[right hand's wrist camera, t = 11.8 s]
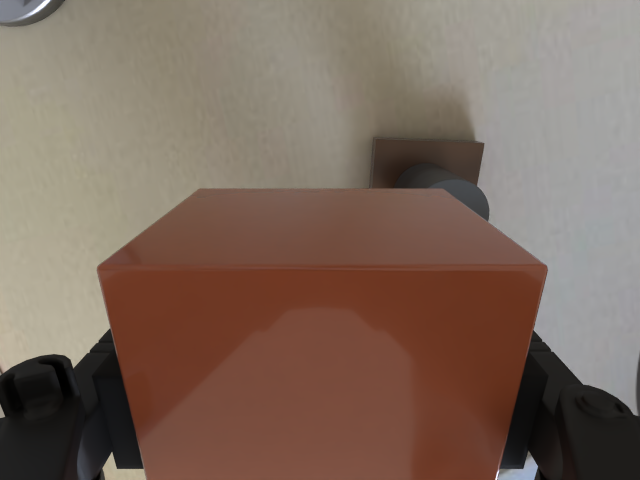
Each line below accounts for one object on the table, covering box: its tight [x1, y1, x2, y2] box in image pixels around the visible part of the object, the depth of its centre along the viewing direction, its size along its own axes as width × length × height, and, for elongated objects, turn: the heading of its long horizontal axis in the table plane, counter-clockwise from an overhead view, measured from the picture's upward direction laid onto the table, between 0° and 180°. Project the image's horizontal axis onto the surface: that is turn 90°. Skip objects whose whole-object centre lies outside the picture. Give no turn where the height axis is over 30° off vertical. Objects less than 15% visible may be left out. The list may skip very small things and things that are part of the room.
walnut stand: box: [369, 138, 489, 222], centre depth 35 cm, size 28×10×12 cm, turn 178°
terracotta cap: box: [97, 189, 548, 480], centre depth 11 cm, size 8×8×6 cm
